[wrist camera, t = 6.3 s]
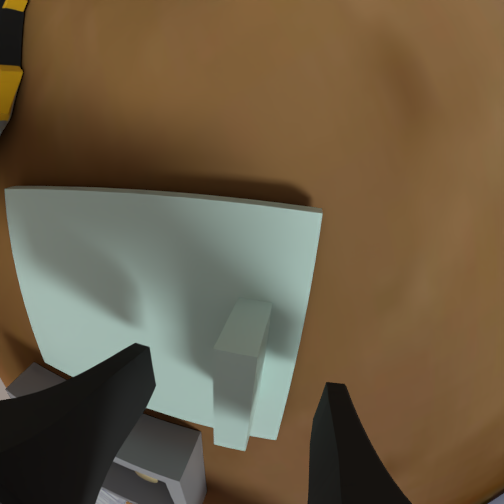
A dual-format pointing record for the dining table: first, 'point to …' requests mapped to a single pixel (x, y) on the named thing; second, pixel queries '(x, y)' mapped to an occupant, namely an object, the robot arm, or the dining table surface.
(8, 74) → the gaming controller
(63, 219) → the lid
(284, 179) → the dining table surface
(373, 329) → the dining table surface
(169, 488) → the tub
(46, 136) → the dining table surface
